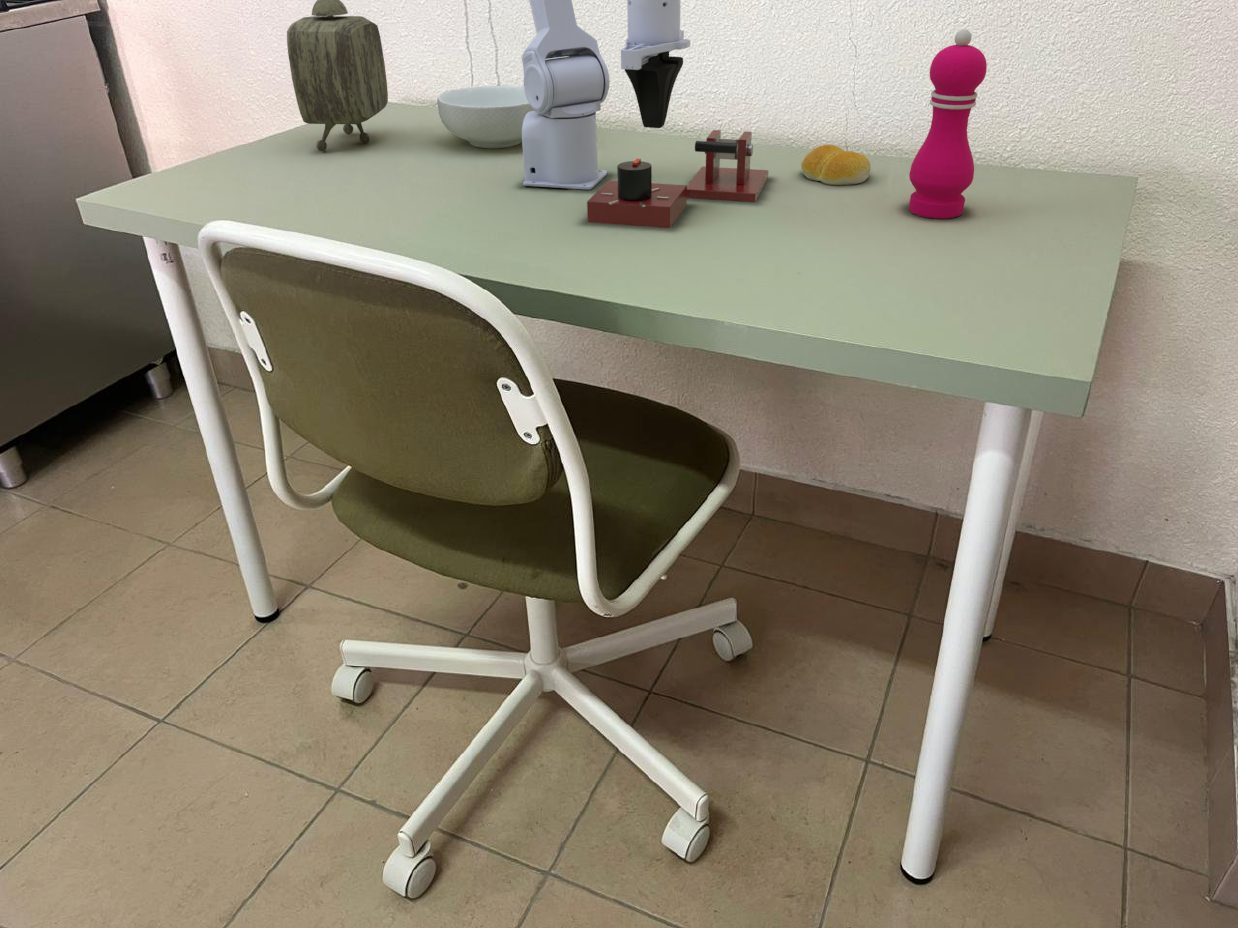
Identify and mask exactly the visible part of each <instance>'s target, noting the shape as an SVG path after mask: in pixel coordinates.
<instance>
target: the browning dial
mask: <svg viewBox="0 0 1238 928" xmlns="http://www.w3.org/2000/svg"><path fill="white" fill-rule="evenodd" d="M616 168H617V169H616V171H617V181H618V198H620V199H622V200H626V201H643V200H647V199H649V198H651V196H652V183H653V175H652V174H653V165H652V164H651V163H650V162H647V161H642V159H641V158H635V159H634V160H629V161H622V162H620V163H618V164H617V166H616Z"/></svg>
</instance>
